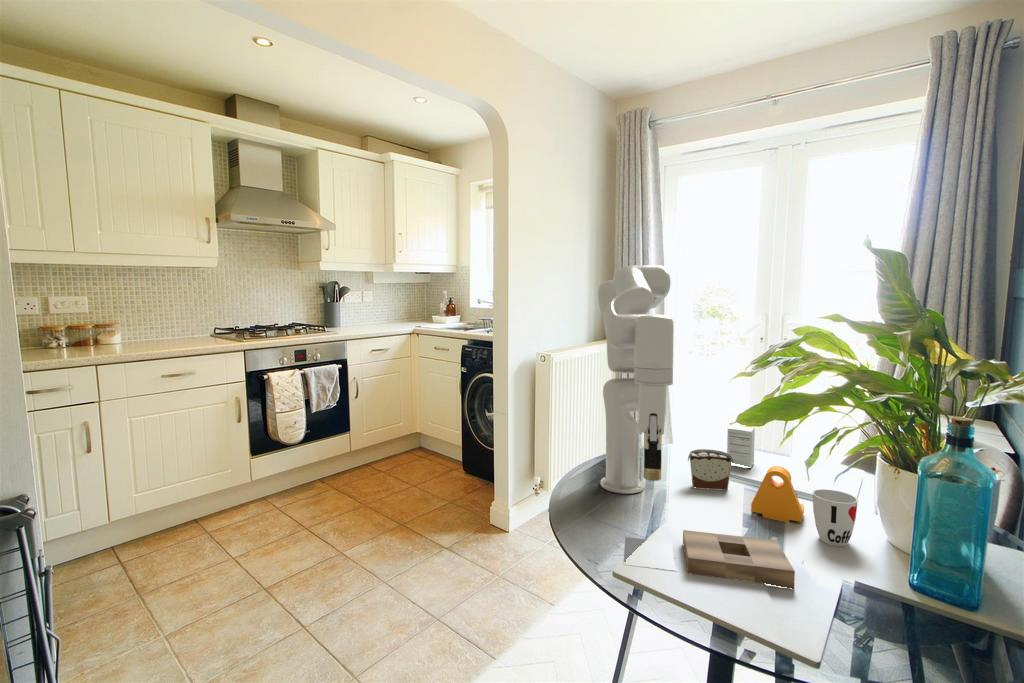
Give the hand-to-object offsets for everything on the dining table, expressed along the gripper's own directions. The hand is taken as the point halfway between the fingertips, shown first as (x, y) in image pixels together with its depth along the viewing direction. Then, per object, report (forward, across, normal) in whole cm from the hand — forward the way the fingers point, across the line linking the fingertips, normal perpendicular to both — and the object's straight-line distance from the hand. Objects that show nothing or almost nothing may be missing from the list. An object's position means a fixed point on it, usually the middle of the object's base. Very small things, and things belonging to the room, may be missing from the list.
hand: (652, 464), depth 96 cm
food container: (+19, -46, +16) cm, 53 cm away
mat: (+19, 0, 0) cm, 19 cm away
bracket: (+20, -29, +30) cm, 46 cm away
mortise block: (+19, 0, +16) cm, 25 cm away
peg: (+3, 0, 0) cm, 3 cm away
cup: (+19, -17, +38) cm, 46 cm away
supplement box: (+20, -69, +29) cm, 77 cm away
